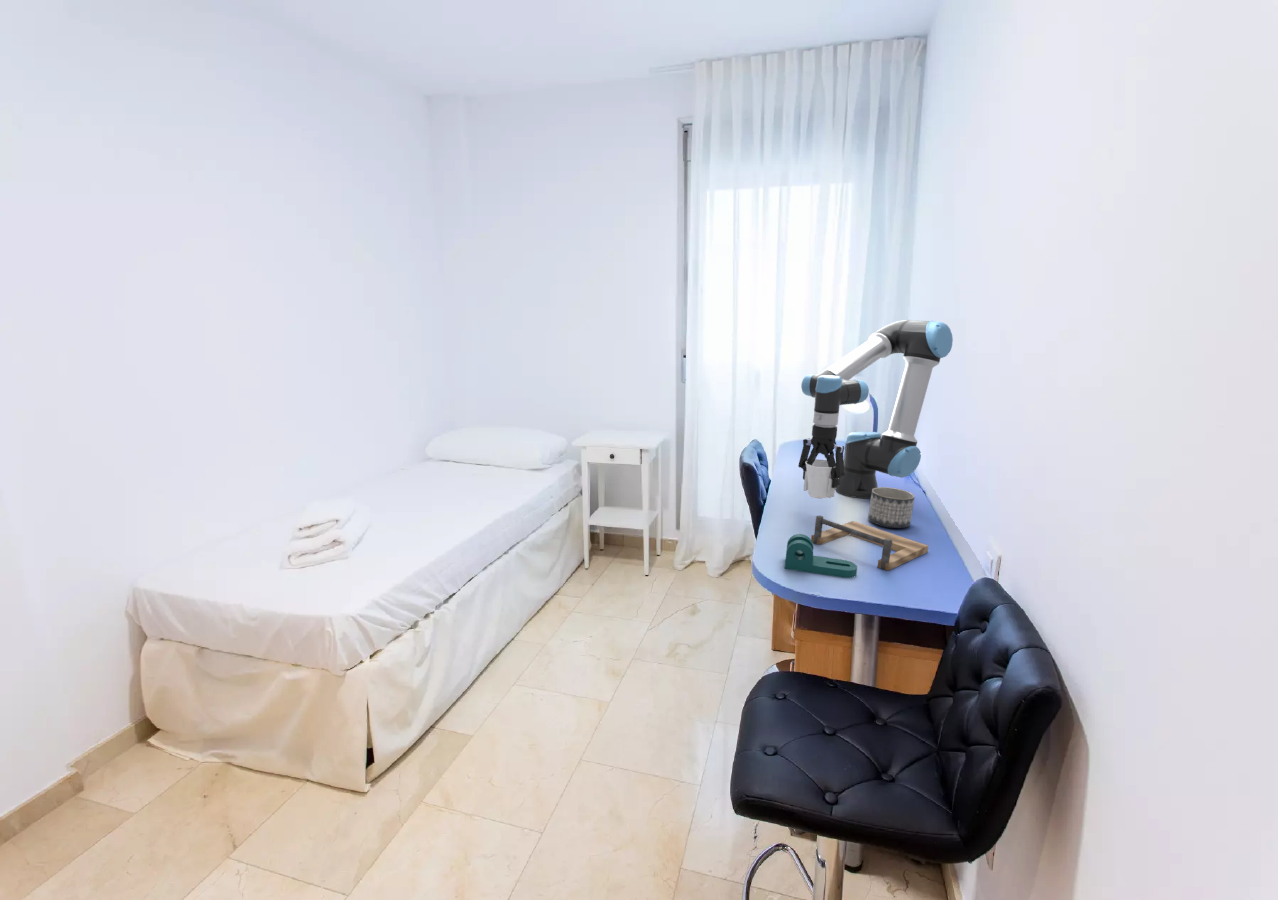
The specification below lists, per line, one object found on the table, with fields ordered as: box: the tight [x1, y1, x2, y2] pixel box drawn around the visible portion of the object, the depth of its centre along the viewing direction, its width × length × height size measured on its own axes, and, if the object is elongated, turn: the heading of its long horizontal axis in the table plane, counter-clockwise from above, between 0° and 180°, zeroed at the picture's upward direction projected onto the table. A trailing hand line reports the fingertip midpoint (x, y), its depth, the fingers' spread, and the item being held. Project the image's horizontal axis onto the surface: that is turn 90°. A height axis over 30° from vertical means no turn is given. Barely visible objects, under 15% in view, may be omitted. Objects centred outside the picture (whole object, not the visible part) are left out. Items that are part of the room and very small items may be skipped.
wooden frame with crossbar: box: [810, 515, 930, 572], centre depth 173 cm, size 22×24×8 cm
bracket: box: [784, 533, 858, 579], centre depth 157 cm, size 18×7×8 cm, turn 74°
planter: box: [867, 486, 916, 529], centre depth 193 cm, size 13×13×10 cm
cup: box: [805, 458, 836, 499], centre depth 195 cm, size 10×10×11 cm
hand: (818, 493), depth 196 cm, fingers closed on cup, 8 cm apart
